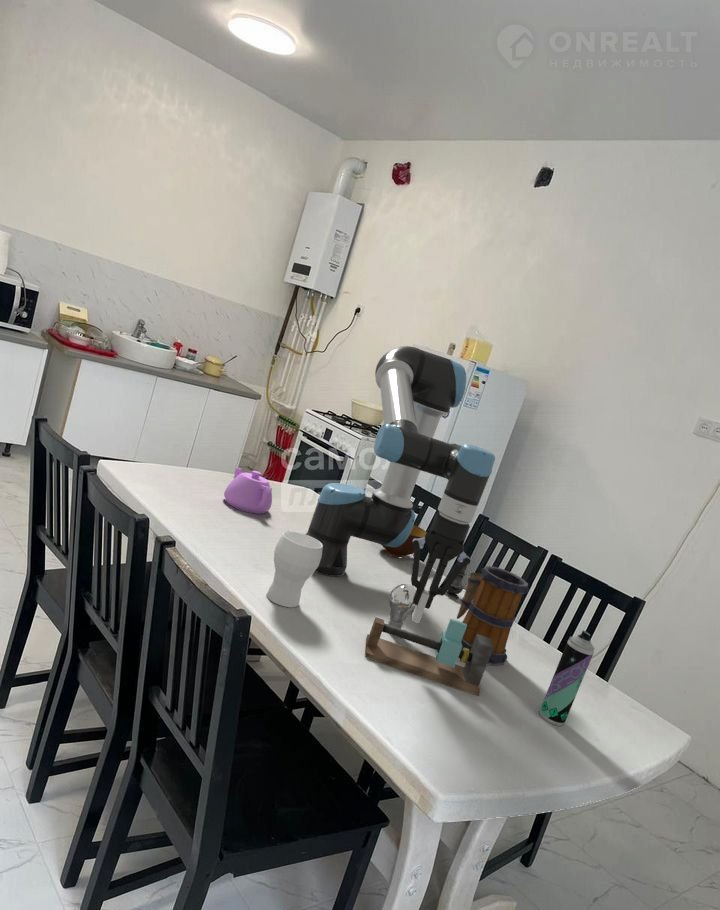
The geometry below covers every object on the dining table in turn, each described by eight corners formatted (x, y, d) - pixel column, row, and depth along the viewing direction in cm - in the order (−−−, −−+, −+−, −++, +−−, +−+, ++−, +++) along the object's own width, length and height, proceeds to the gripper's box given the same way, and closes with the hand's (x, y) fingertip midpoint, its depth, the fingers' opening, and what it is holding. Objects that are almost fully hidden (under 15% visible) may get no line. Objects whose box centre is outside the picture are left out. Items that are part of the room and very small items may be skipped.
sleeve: (436, 661, 146) (450, 623, 145) (434, 652, 150) (449, 615, 149) (454, 667, 146) (469, 629, 145) (452, 658, 150) (466, 621, 149)
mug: (429, 622, 177) (456, 551, 174) (474, 629, 183) (501, 560, 180) (469, 663, 159) (499, 584, 157) (517, 669, 166) (547, 593, 163)
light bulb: (409, 634, 164) (426, 588, 163) (402, 642, 158) (419, 595, 156) (382, 621, 166) (399, 576, 164) (374, 630, 160) (391, 582, 158)
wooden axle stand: (364, 657, 143) (380, 613, 142) (366, 637, 153) (380, 597, 152) (478, 695, 144) (495, 652, 142) (472, 674, 154) (488, 633, 152)
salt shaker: (459, 601, 202) (474, 564, 201) (440, 594, 203) (454, 556, 201) (460, 596, 208) (474, 559, 206) (442, 588, 209) (455, 552, 207)
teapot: (282, 521, 222) (294, 486, 220) (241, 517, 212) (253, 480, 210) (248, 496, 238) (259, 463, 236) (209, 491, 227) (220, 457, 226)
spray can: (535, 707, 148) (569, 623, 145) (558, 714, 148) (593, 630, 146) (543, 722, 142) (579, 634, 139) (568, 728, 143) (604, 641, 140)
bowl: (360, 547, 223) (370, 518, 222) (378, 540, 240) (388, 513, 238) (409, 569, 217) (420, 540, 216) (424, 560, 234) (434, 533, 232)
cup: (312, 605, 162) (332, 546, 159) (290, 614, 152) (311, 552, 150) (275, 585, 165) (294, 528, 163) (251, 594, 156) (271, 532, 154)
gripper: (425, 511, 140) (386, 616, 144) (485, 532, 140) (445, 636, 144) (423, 503, 148) (386, 603, 151) (480, 523, 148) (442, 622, 151)
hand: (415, 619), depth 148 cm, fingers closed
